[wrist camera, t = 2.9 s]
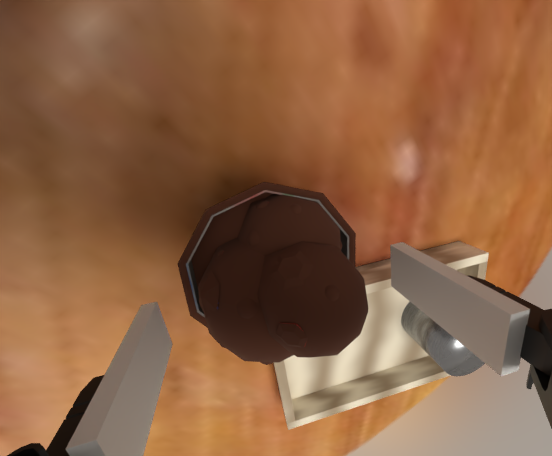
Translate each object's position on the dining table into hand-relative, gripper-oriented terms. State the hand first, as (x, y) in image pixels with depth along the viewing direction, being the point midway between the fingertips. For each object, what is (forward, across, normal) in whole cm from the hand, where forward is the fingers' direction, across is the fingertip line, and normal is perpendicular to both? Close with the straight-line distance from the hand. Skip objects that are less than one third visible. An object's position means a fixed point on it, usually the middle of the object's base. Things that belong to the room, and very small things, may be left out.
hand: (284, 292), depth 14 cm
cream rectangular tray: (+11, +11, -14) cm, 21 cm away
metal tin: (+10, +18, -14) cm, 25 cm away
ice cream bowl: (+11, 0, 0) cm, 11 cm away
